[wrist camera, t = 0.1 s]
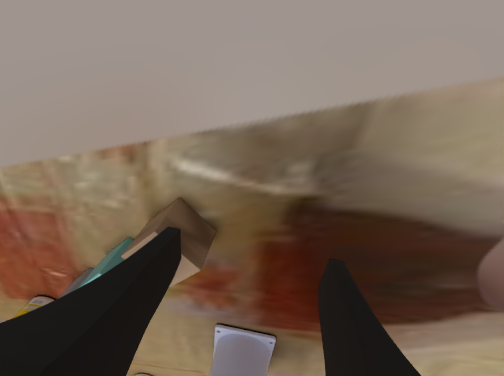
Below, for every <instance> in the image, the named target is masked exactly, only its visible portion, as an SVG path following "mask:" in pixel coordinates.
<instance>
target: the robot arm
mask: <svg viewBox="0 0 504 376" xmlns="http://www.w3.org/2000/svg"><path fill="white" fill-rule="evenodd" d="M181 259H182V256H181V230H180V229H179V228H174V227H169V226H168V227H167V228H165V229H164V230H163V231H162V232H160V233H159V234H158V235H157V236H155V237H154V238H153V239H152V240H150V241H149V242H148V243H147V244H145V245H144V246H143V247H141V248H140V249H139V250H137V251H136V252H135V253H133V254H132V255H131V256H129V257H128V258H126V259H125V260H123V261H122V262H121V263H119V264H118V265H116V266H115V267H113V268H112V269H110V270H109V271H107V272H106V273H104V274H102V275H101V276H99V277H97V278H96V279H94V280H92V281H91V282H89V283H87V284H85V285H83V286H82V287H80V288H78V289H76V290H74V291H72V292H70V293H68V294H66V295H64V296H62V297H61V298H58V299H56V300H54V301H52V302H50V303H48V304H46V305H43V306H41V307H39V308H37V309H34V310H32V311H30V312H27V313H25V314H23V315H20V316H18V317H15V318H13V319H10V320H7V321H5V322H2V323H0V376H126V374H127V372H128V370H129V367H130V365H131V362H132V360H133V358H134V355H135V353H136V351H137V348H138V346H139V344H140V341H141V339H142V337H143V335H144V332H145V330H146V328H147V326H148V324H149V322H150V320H151V318H152V317H153V315H154V313H155V311H156V309H157V308H158V306H159V304H160V302H161V300H162V299H163V297H164V295H165V293H166V291H167V289H168V288H169V286H170V284H171V282H172V280H173V278H174V276H175V274H176V271H177V269H178V266H179V264H180V261H181ZM319 317H320V325H321V334H322V342H323V350H324V359H325V371H326V376H421V375H420V374H419V372H418V371H417V370H416V369H415V368H414V367H413V366H412V364H411V363H410V362H409V361H408V360H407V358H406V357H405V356H404V355H403V353H402V352H401V351H400V350H399V348H398V347H397V346H396V344H395V343H394V342H393V340H392V339H391V338H390V336H389V335H388V334H387V332H386V331H385V329H384V328H383V326H382V325H381V323H380V322H379V320H378V319H377V317H376V316H375V314H374V313H373V311H372V310H371V308H370V307H369V305H368V303H367V302H366V300H365V298H364V297H363V295H362V293H361V292H360V290H359V288H358V286H357V285H356V283H355V281H354V279H353V278H352V276H351V274H350V272H349V270H348V268H347V267H346V265H345V263H344V261H341V260H336V259H331V258H330V259H329V262H328V264H327V267H326V269H325V272H324V274H323V277H322V279H321V282H320V284H319ZM275 342H276V338H275V337H274V336H270V335H266V334H261V333H256V332H252V331H247V330H242V329H238V328H233V327H228V326H223V325H216V327H215V339H214V357H213V361H212V365H211V368H210V372H209V376H267V370H268V366H269V363H270V359H271V356H272V352H273V349H274V346H275Z"/></svg>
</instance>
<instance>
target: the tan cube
mask: <svg viewBox="0 0 504 376" xmlns="http://www.w3.org/2000/svg"><path fill="white" fill-rule="evenodd" d="M168 226H169V227H174V228H179V229H180V230H181V256H182V259H181V261H180V264H179V266H178V269H177V271H176V274H175V276H174V278H173V280H172V282H171V284H170V286H169V287H171V286H173V285H175V284H177V283H179V282H180V281H182V280H184V279H186V278H188V277H189V276H191V275H193V274H195V273H197V272H199V271H200V270H201V268H202V266H203V263H204V261H205V258H206V256H207V254H208V251H209V249H210V246H211V244H212V241H213V239H214V237H215V234H216V231H215V230H214V229H213V228H212V227H211V226H210V225H209V224H208V223H207V222H206V221H205V220H203V219H202V218H201V217H200V216H199V215H198V214H197V213H196V212H195V211H194V210H193V209H192V208H191V207H190V206H188V205H187V204H186V203H185V202H184V201H183V200H182V199H181V198H180V197H179V198H178V199H177V200H175V201H174V202H173V203H171V204H170V205H169V206H168V207H166V208H165V209H164V210H162V211H161V212H160V213H159V214H157V215H156V216H155V217H154V218H152V219H151V220H150V221H149V222H148V223H147V224H146V225H145V227H144V228H143V229H142V230H141V232H140V233H139V234H138V236H137V237H136V238H135V239H134V241H133V242H132V243H131V244H130V246H129V247H128V248H127V249H126V251H125V252H124V253H123V254H122V256H121V257H122V258H123V259H126V258H128V257H129V256H131V255H132V254H133V253H135V252H136V251H137V250H139V249H140V248H141V247H143V246H144V245H145V244H147V243H148V242H149V241H150V240H152V239H153V238H154V237H155V236H157V235H158V234H159V233H160V232H162V231H163V230H164V229H165V228H167V227H168Z"/></svg>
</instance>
